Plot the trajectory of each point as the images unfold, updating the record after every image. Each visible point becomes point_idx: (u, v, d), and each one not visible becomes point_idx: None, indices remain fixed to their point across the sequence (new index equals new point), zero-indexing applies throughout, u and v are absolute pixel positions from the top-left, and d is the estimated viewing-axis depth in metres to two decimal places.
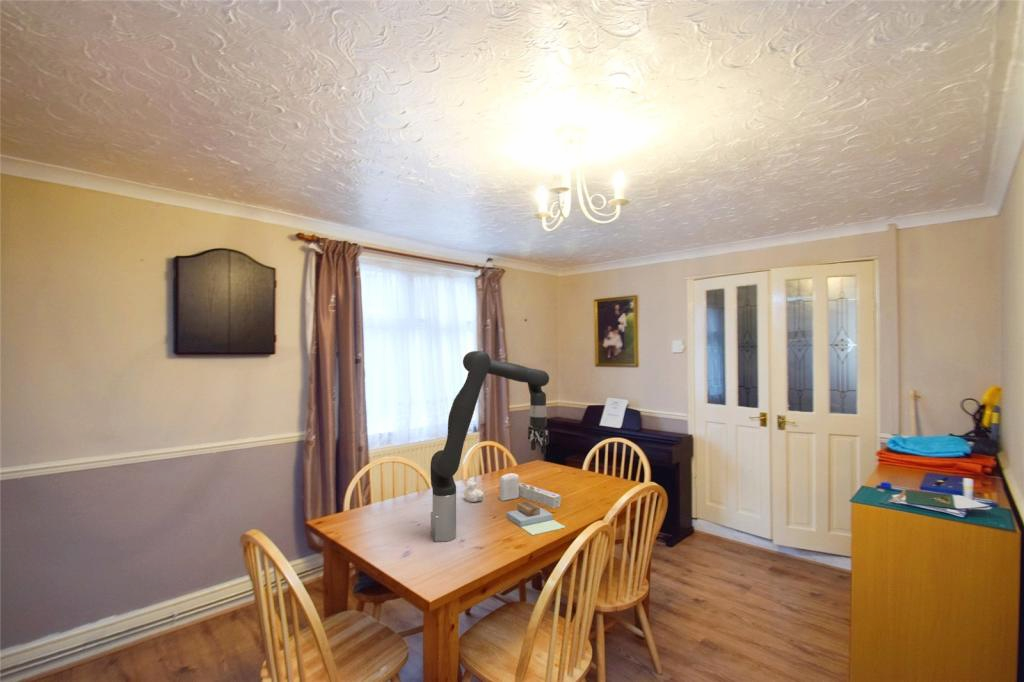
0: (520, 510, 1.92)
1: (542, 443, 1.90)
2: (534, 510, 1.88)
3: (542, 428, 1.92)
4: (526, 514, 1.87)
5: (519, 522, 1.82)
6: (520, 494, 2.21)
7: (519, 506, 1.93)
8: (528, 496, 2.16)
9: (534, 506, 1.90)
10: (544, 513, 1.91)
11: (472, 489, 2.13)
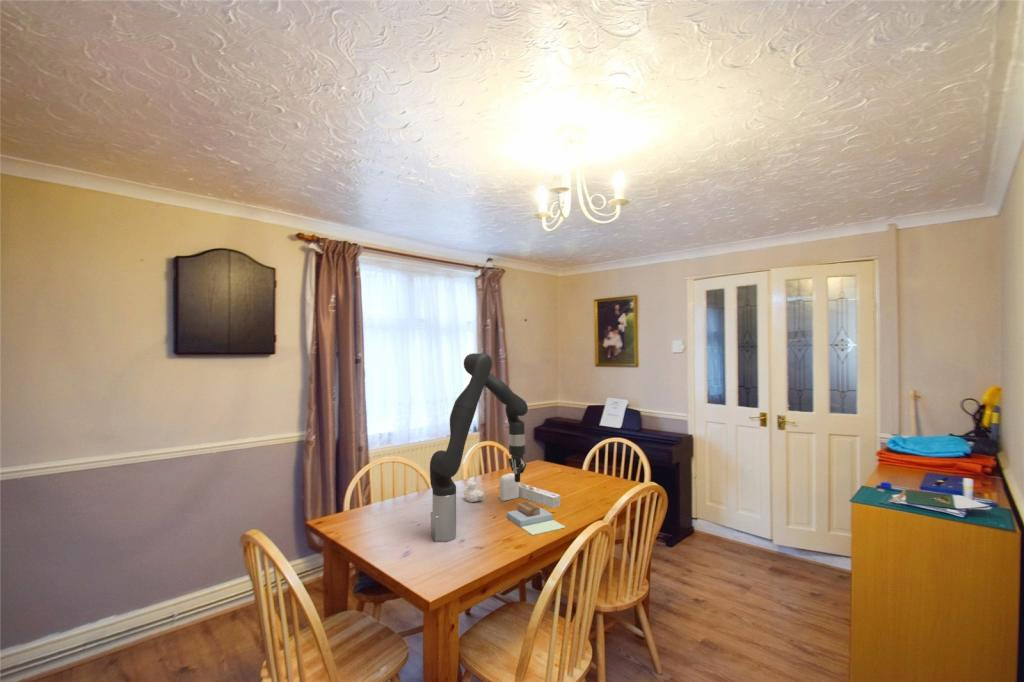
0: (520, 510, 1.92)
1: (516, 472, 1.99)
2: (534, 510, 1.88)
3: (521, 457, 1.98)
4: (526, 514, 1.87)
5: (519, 522, 1.82)
6: (519, 494, 2.20)
7: (519, 506, 1.93)
8: (528, 496, 2.16)
9: (534, 506, 1.90)
10: (544, 513, 1.91)
11: (472, 489, 2.13)
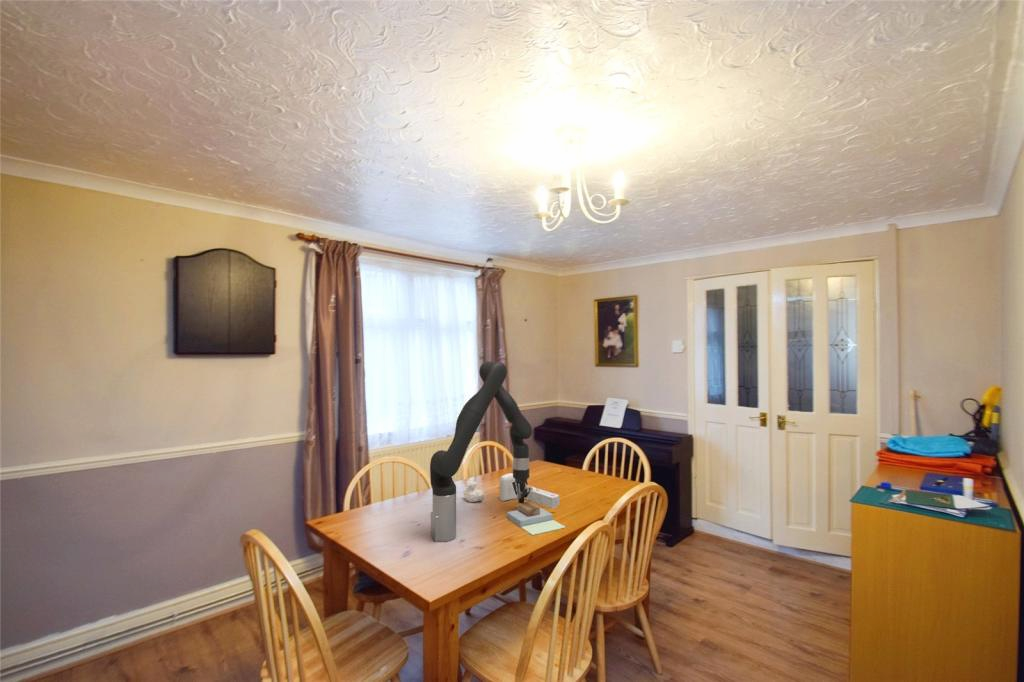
0: (520, 510, 1.92)
1: (520, 496, 1.96)
2: (534, 510, 1.88)
3: (525, 481, 1.94)
4: (526, 514, 1.87)
5: (519, 522, 1.82)
6: None
7: (519, 506, 1.92)
8: (527, 496, 2.16)
9: (534, 506, 1.90)
10: (544, 513, 1.91)
11: (472, 489, 2.13)
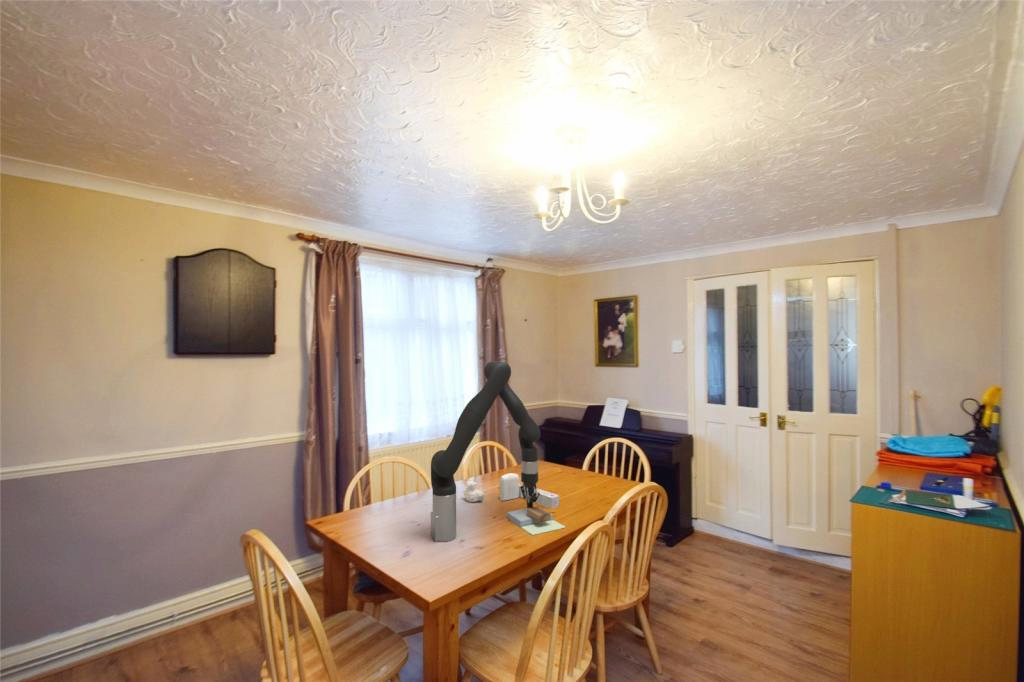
0: (530, 515, 1.85)
1: (529, 501, 1.89)
2: (545, 516, 1.82)
3: (534, 485, 1.88)
4: (537, 520, 1.81)
5: (519, 522, 1.82)
6: (519, 494, 2.20)
7: (528, 511, 1.86)
8: None
9: (544, 511, 1.84)
10: None
11: (472, 489, 2.13)
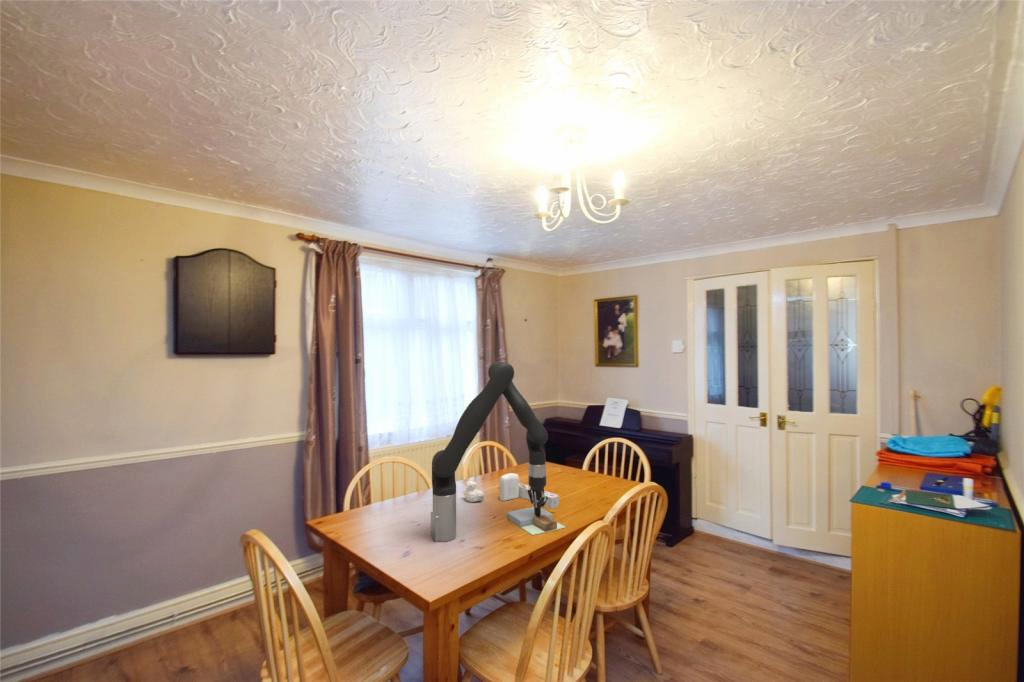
0: (536, 524, 1.82)
1: (537, 505, 1.84)
2: (551, 524, 1.78)
3: (541, 489, 1.82)
4: (543, 528, 1.77)
5: (519, 522, 1.82)
6: (519, 494, 2.20)
7: (535, 520, 1.82)
8: (527, 496, 2.16)
9: (551, 520, 1.80)
10: (544, 513, 1.91)
11: (472, 489, 2.13)
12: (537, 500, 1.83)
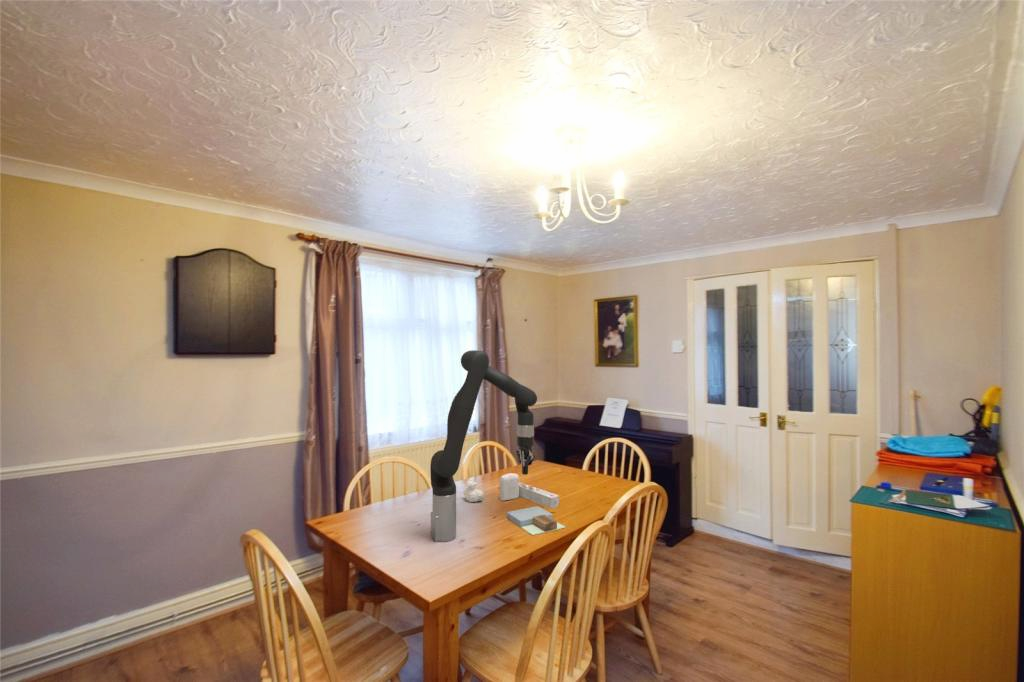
0: (536, 524, 1.82)
1: (524, 464, 1.93)
2: (551, 524, 1.78)
3: (529, 448, 1.92)
4: (543, 528, 1.77)
5: (519, 522, 1.82)
6: (519, 494, 2.21)
7: (535, 520, 1.82)
8: (527, 496, 2.16)
9: (551, 520, 1.80)
10: (544, 513, 1.91)
11: (472, 489, 2.13)
12: (525, 459, 1.93)
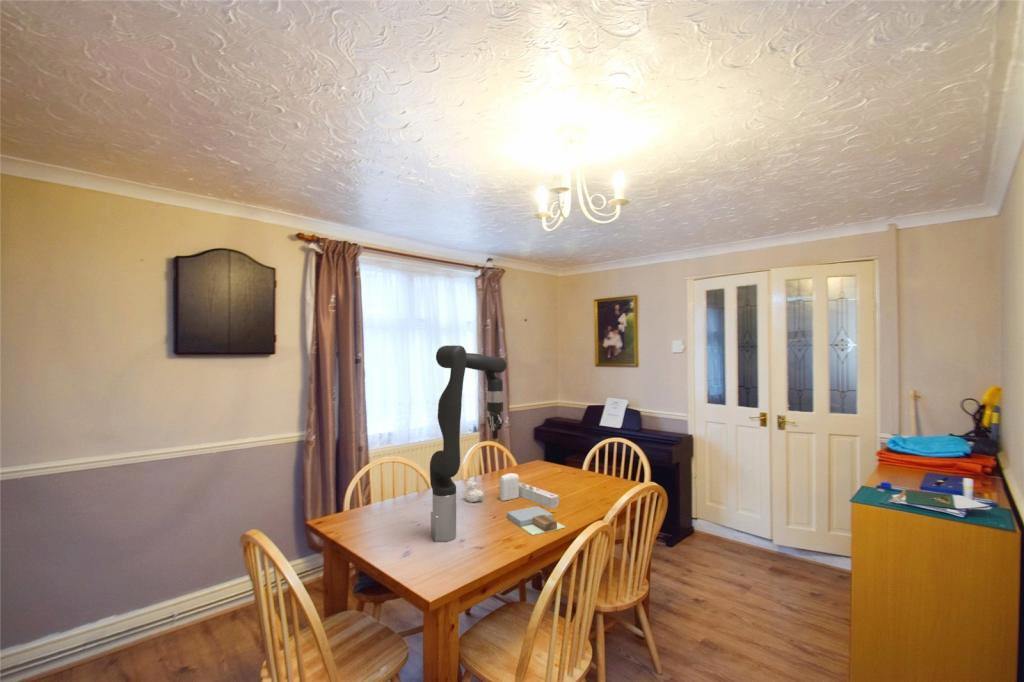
0: (536, 524, 1.82)
1: (494, 429, 2.00)
2: (551, 524, 1.78)
3: (498, 413, 1.98)
4: (543, 528, 1.77)
5: (519, 522, 1.82)
6: (520, 494, 2.21)
7: (535, 520, 1.82)
8: (527, 496, 2.16)
9: (551, 520, 1.80)
10: (544, 513, 1.91)
11: (472, 489, 2.13)
12: (494, 424, 2.00)
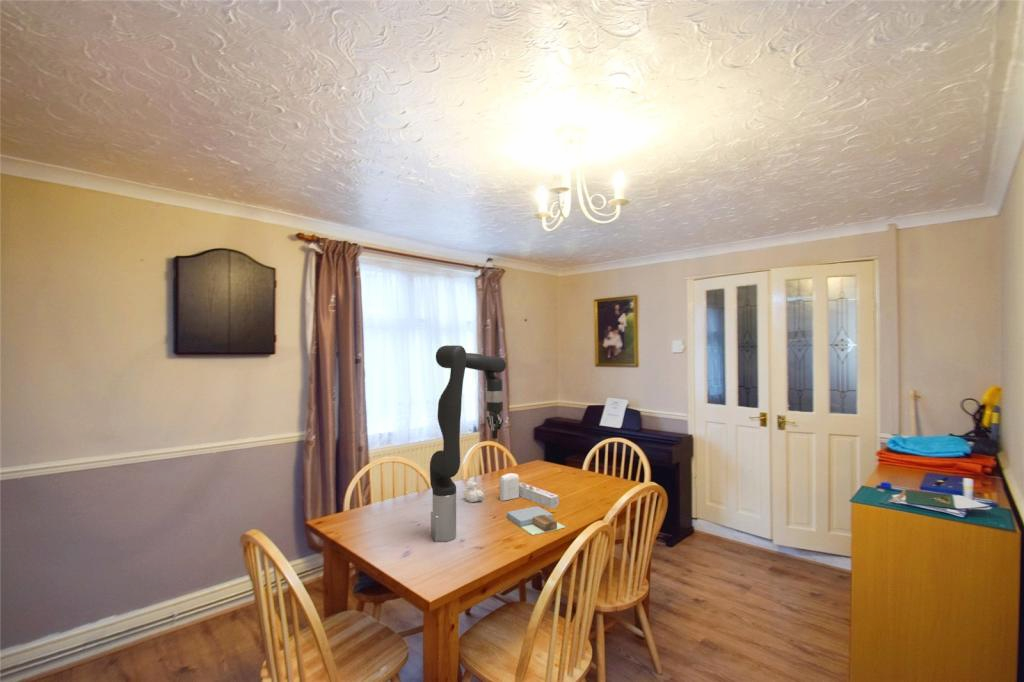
0: (536, 524, 1.82)
1: (493, 428, 2.00)
2: (551, 524, 1.78)
3: (498, 413, 1.98)
4: (543, 528, 1.77)
5: (519, 522, 1.82)
6: (520, 494, 2.21)
7: (535, 520, 1.82)
8: (527, 496, 2.16)
9: (551, 520, 1.80)
10: (544, 513, 1.91)
11: (472, 489, 2.13)
12: (494, 424, 2.00)
